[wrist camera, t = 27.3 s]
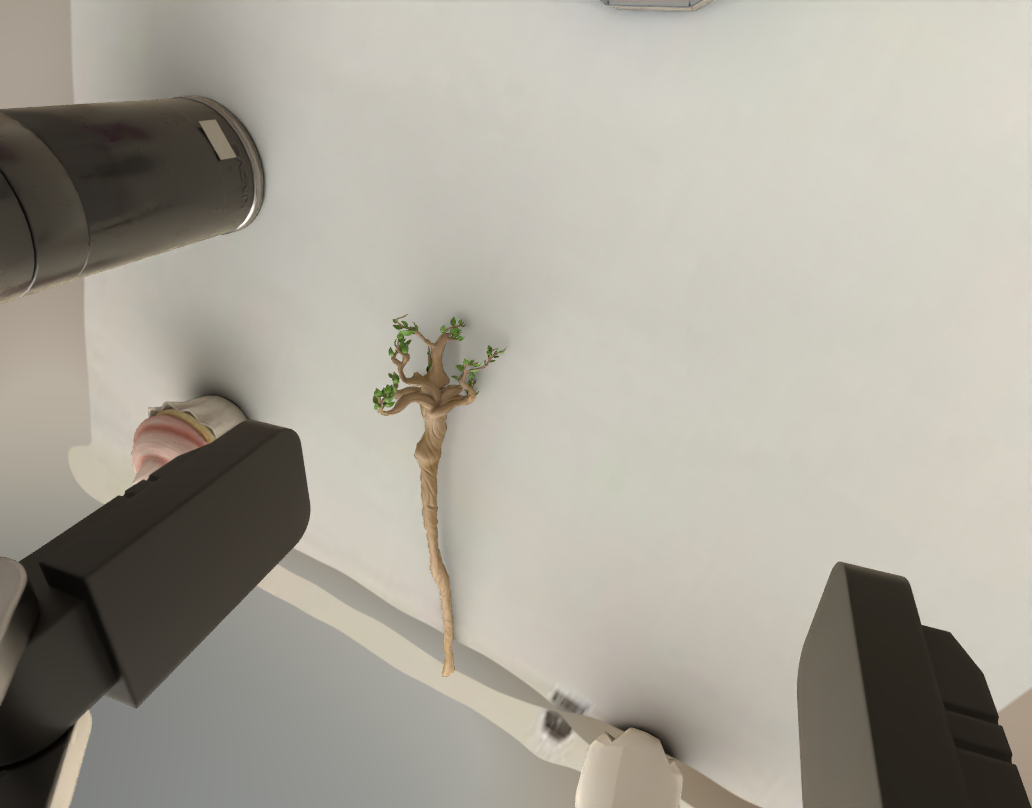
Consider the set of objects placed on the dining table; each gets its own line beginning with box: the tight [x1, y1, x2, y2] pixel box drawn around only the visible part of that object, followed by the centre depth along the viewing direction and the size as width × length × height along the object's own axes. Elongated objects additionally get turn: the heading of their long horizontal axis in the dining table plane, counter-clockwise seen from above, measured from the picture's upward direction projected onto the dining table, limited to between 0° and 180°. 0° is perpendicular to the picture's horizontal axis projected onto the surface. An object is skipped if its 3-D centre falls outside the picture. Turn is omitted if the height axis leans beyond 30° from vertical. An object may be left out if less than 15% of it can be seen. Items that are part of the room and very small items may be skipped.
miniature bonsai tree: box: [373, 314, 506, 677], centre depth 51 cm, size 39×8×8 cm, turn 170°
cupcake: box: [131, 396, 248, 484], centre depth 54 cm, size 9×9×10 cm
